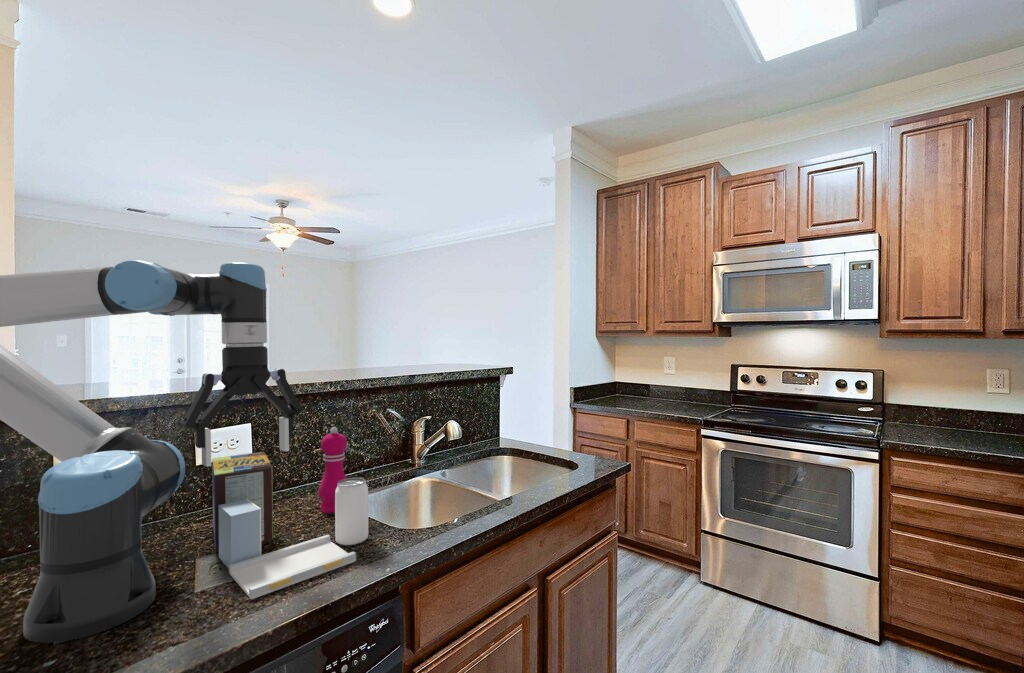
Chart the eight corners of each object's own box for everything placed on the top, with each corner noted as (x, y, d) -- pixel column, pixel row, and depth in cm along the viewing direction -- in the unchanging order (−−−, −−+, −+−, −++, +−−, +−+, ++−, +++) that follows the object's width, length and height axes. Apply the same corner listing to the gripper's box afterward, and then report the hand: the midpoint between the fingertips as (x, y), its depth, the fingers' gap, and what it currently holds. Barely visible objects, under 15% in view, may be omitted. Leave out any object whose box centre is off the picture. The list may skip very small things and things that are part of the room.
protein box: (265, 517, 111) (264, 450, 111) (273, 540, 98) (273, 465, 98) (212, 527, 105) (211, 457, 105) (213, 553, 92) (213, 474, 92)
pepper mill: (313, 508, 116) (313, 426, 116) (342, 501, 121) (342, 423, 121) (325, 516, 111) (324, 431, 111) (354, 508, 116) (354, 427, 116)
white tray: (251, 600, 76) (251, 590, 76) (229, 573, 85) (229, 565, 85) (356, 561, 89) (356, 553, 89) (327, 541, 97) (327, 534, 97)
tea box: (261, 562, 89) (261, 508, 89) (231, 571, 85) (230, 516, 85) (247, 548, 94) (247, 498, 94) (218, 557, 91) (218, 505, 91)
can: (358, 547, 95) (357, 487, 95) (328, 545, 96) (328, 485, 96) (374, 534, 101) (373, 478, 101) (346, 532, 102) (346, 476, 102)
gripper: (171, 348, 78) (174, 476, 78) (318, 343, 97) (320, 447, 97) (160, 347, 83) (162, 468, 83) (301, 343, 102) (304, 442, 102)
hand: (247, 457), depth 90 cm, fingers open, 13 cm apart
